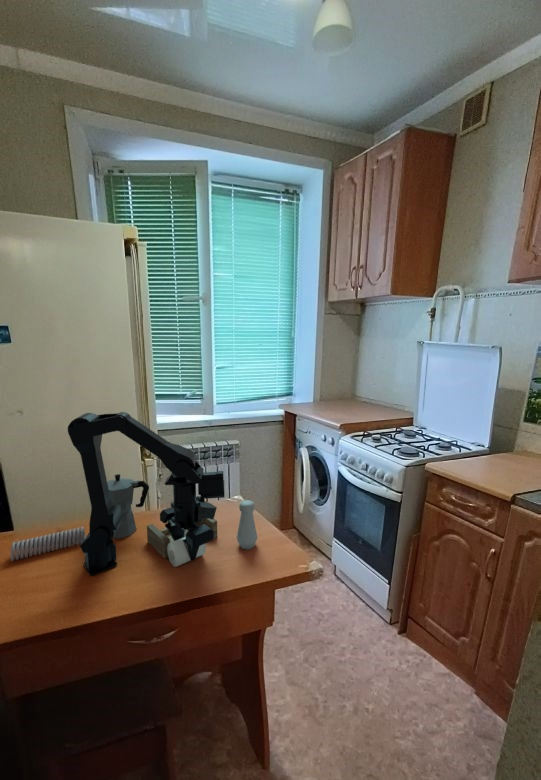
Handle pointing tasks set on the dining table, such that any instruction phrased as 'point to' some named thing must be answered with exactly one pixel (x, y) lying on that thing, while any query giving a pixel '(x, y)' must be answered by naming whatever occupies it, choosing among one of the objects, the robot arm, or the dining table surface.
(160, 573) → the dining table surface
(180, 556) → the cylinder
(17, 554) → the coil
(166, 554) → the cradle
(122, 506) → the coffeepot
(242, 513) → the salt shaker
